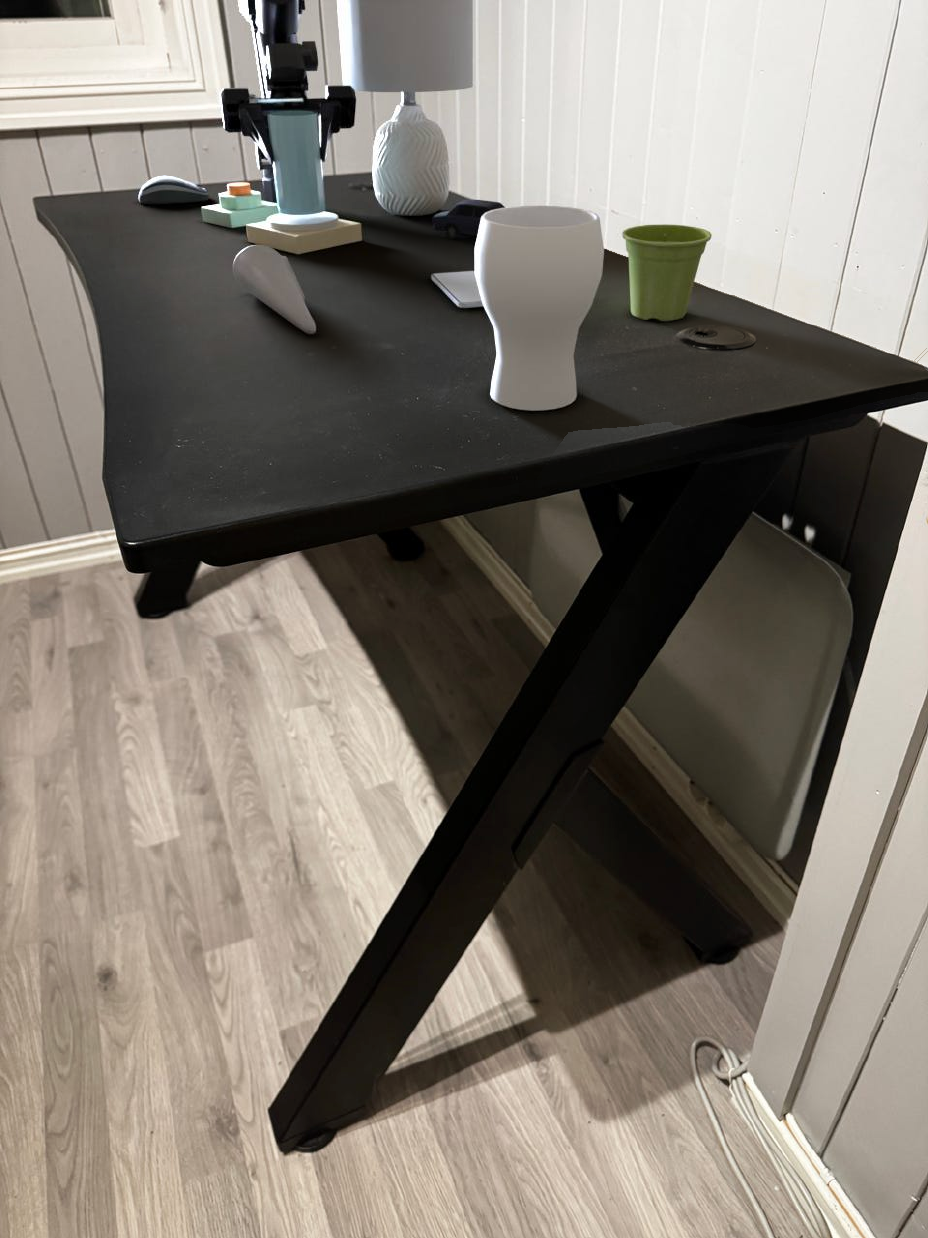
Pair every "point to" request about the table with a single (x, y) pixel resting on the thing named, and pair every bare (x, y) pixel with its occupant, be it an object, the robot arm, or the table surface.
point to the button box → (239, 210)
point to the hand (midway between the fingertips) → (297, 160)
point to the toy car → (463, 217)
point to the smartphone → (460, 287)
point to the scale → (303, 232)
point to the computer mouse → (171, 191)
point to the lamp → (408, 88)
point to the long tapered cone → (273, 284)
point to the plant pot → (663, 268)
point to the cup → (537, 298)
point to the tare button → (239, 189)
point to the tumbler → (297, 162)
